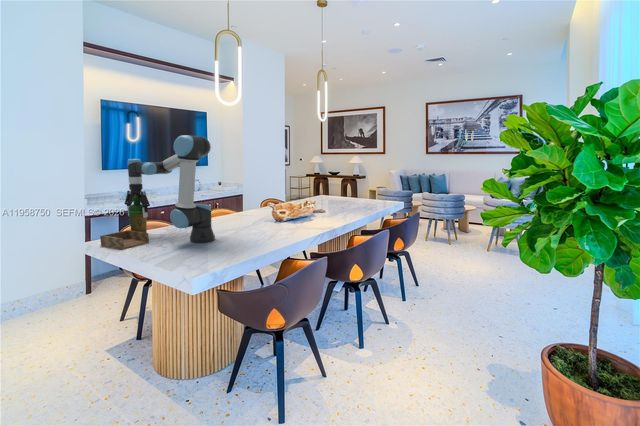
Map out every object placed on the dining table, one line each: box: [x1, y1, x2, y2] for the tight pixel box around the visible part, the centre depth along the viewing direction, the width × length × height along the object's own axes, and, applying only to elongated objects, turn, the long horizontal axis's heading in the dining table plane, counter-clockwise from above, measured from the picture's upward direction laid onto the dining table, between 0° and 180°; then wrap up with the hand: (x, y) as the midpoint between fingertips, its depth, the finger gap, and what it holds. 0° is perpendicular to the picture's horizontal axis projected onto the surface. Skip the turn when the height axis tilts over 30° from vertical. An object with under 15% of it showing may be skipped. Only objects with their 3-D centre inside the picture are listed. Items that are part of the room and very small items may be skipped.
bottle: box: [127, 195, 148, 233], centre depth 235 cm, size 11×11×28 cm
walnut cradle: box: [99, 229, 150, 251], centre depth 217 cm, size 18×18×6 cm
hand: (137, 216), depth 235 cm, fingers open, 13 cm apart
